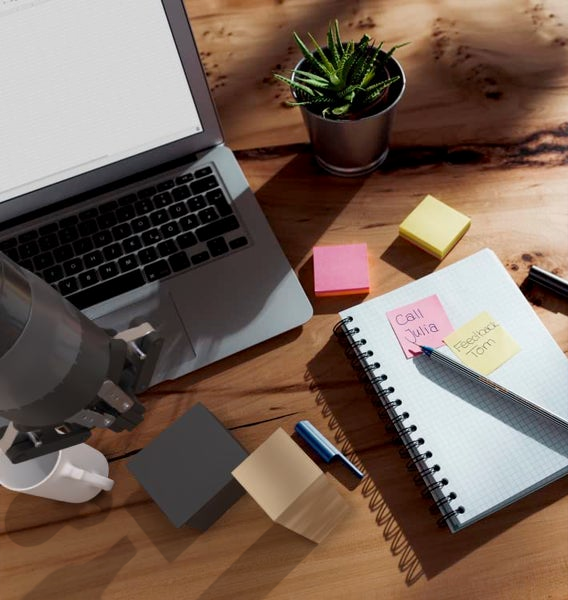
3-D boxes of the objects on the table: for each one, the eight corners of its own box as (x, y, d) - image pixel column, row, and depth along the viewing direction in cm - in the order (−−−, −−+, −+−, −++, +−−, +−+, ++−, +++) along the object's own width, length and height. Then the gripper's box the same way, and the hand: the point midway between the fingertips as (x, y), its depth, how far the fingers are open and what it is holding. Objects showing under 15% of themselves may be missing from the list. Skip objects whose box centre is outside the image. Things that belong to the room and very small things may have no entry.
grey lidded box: (205, 531, 73) (186, 526, 67) (156, 473, 76) (133, 462, 70) (267, 472, 76) (254, 461, 70) (217, 417, 79) (201, 402, 72)
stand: (318, 544, 73) (273, 521, 49) (288, 510, 74) (230, 472, 50) (351, 510, 74) (323, 472, 50) (321, 478, 76) (280, 426, 52)
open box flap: (179, 530, 67) (177, 529, 66) (126, 466, 69) (123, 464, 68) (254, 462, 70) (252, 460, 69) (200, 402, 72) (198, 400, 72)
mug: (41, 494, 75) (-22, 477, 64) (71, 438, 78) (15, 413, 67) (119, 523, 74) (68, 511, 63) (147, 465, 76) (103, 444, 66)
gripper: (73, 231, 40) (168, 332, 56) (-127, 379, 37) (35, 443, 53) (146, 310, 38) (223, 392, 54) (-59, 476, 35) (89, 512, 50)
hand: (130, 417), depth 53 cm, fingers closed
